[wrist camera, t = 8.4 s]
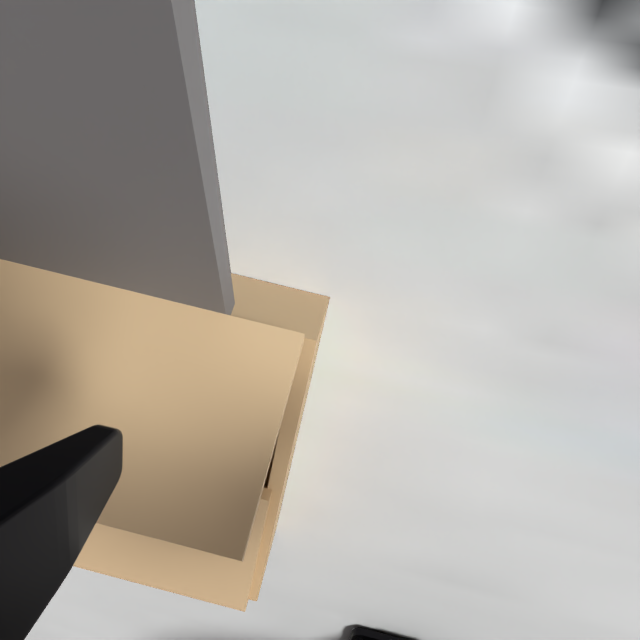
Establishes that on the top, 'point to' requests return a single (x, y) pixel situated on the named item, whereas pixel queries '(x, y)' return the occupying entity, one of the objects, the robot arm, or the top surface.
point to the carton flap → (129, 270)
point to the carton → (246, 577)
